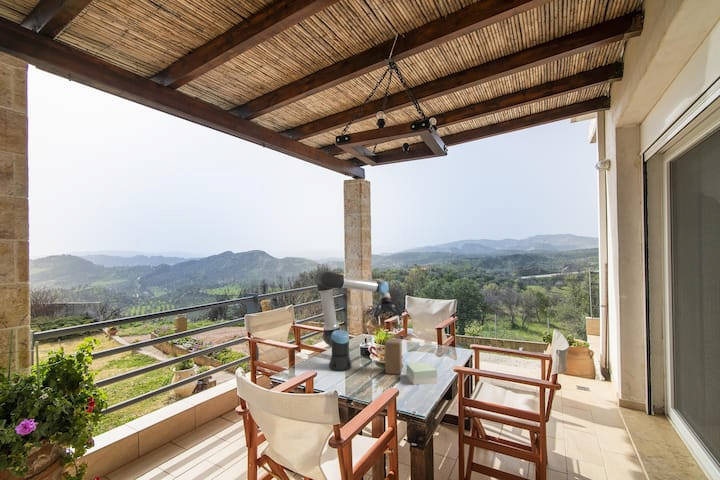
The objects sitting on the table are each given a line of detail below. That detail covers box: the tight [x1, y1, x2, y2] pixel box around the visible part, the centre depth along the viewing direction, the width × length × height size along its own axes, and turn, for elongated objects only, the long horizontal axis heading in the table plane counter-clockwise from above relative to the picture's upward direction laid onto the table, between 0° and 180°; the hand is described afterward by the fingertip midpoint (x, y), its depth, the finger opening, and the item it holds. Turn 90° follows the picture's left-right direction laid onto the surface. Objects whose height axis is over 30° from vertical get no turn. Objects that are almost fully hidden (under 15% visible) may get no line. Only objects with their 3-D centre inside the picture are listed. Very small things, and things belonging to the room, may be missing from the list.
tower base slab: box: [405, 369, 438, 386], centre depth 196 cm, size 14×14×4 cm
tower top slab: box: [406, 361, 438, 379], centre depth 196 cm, size 14×14×4 cm
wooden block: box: [384, 337, 403, 375], centre depth 209 cm, size 10×10×20 cm
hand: (389, 324), depth 226 cm, fingers open, 13 cm apart
